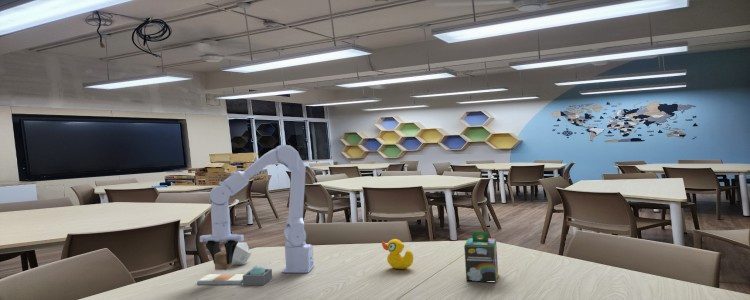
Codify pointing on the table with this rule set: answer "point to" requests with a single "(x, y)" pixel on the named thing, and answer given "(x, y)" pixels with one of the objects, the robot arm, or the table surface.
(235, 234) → the robot arm
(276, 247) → the table surface
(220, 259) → the brown wooden block
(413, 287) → the table surface
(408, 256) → the duckling
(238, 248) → the die
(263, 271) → the dome
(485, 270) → the chalk box
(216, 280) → the game board
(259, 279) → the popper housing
